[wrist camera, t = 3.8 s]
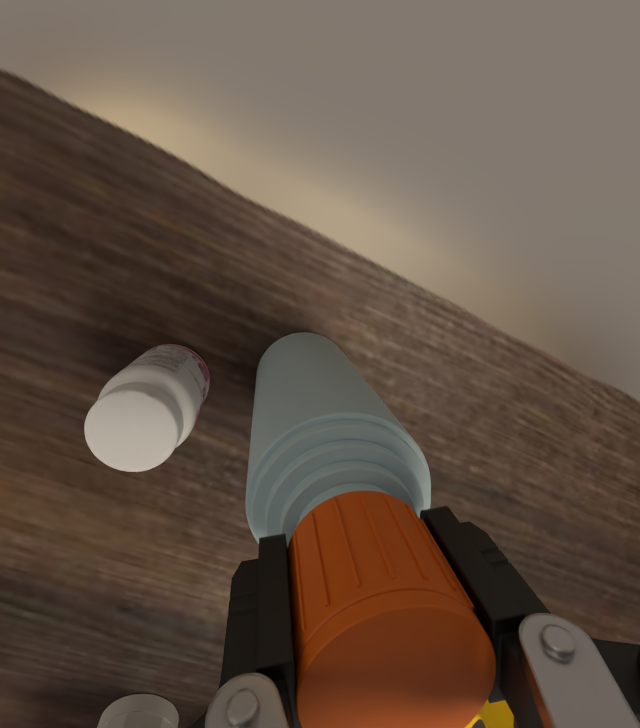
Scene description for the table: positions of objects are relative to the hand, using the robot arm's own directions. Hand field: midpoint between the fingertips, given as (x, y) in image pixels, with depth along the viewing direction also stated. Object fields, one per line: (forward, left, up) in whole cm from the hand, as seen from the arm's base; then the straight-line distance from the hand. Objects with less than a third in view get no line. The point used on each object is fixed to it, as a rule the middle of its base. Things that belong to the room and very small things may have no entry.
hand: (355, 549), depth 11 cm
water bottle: (0, 0, -16) cm, 16 cm away
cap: (0, 0, 0) cm, 0 cm away
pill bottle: (-7, -5, -16) cm, 18 cm away
